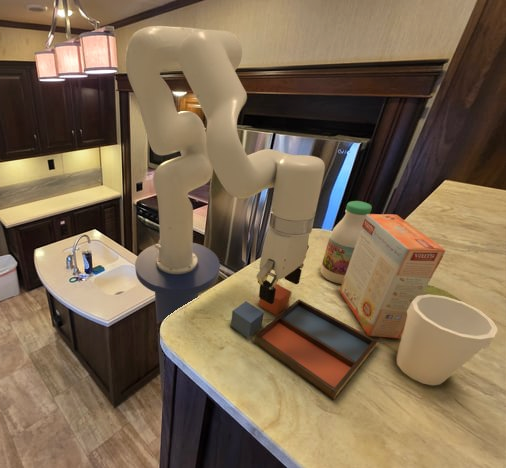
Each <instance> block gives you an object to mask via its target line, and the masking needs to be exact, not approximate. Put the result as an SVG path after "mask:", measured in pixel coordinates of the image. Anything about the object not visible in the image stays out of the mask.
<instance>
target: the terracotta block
mask: <svg viewBox="0 0 506 468" xmlns="http://www.w3.org/2000/svg"><path fill="white" fill-rule="evenodd" d="M274 288H275V289H276V292H275V298H274V303H273V304H270V303H268V302H266V301H264V300H263V299H261V298H260V297H259V302H258V306H259V307H262V308H263V309H265V310H266V311H268V312H269V313H271V314H273V315H275V316H276V317H278V316H279V315H280V314H281V313H283V312H284V311H285V310H286V309H287V308H289V303H290V298H291V294H292V291H291V290H289V289H287V288H285V287H283V286H282V285H279V284H277V283H276V285H275V287H274Z"/></svg>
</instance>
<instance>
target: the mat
mask: <svg viewBox="0 0 506 468" xmlns="http://www.w3.org/2000/svg"><path fill="white" fill-rule="evenodd" d="M427 294H430V295H438V296H445V297H448V298H452V299H455V300H458V301H461V299H460V298H459V297H457V296H456V295H453V294H452V293H450V292H448V291H446V290H444V289H442V288H439V287H436V286H434V285H430V284H428V285H427V287H426V289H425V291H424V293H423V295H427Z"/></svg>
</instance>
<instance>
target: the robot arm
mask: <svg viewBox="0 0 506 468" xmlns="http://www.w3.org/2000/svg"><path fill="white" fill-rule="evenodd" d="M241 44H242V43H241V41H240V39H239V38H238V37H237V35H236V34H234V33H233V32H231V31H229V30H223V29H221V30H220V29H203V28H196V27H195V28H194V27H185V26H184V27H183V26H182V27H181V26H166V25H165V26H164V25H152V26H146V27H143V28H140V29H138V30H137V31H135V32H134V33H133V34H132V36H131V37H130V39H129V40H128V43H127V47H126V51H125V69H126V75H127V79H128V81H129V84H130V86H131V89H132V91H133V93H134V95H135V98H136V100H137V104H138V107H139V110H140V114H141V118H142V122H143V127H144V129H145V134H146V137H147V141H148V143H149V146H150V148H151V151H152V152H153V153H154V154H155V155H158V156H168V155H171V154H175V153H178V152H180V155H181V156H177V157H174V158H171V159H169V160H165V161H163V162H162V163H160V164H159V165H158V166H157V167H156V168H155V170H154V173H153V178H152V179H153V181H152V182H153V186H154V190H155V195H156V199H157V206H158V223H159V224H158V226H159V239H158V241H157V243H155V244H156V245H155V244H154V245H155V247H156V248H157V249H159V255H158V256H157V258H156V264H157V266H158V268H159V269H160V270H162V271H164V272H166V273H170V274H184V273H188V272H190V271H192V270H193V269H195V268H196V266H197V263H198V259H197V256H196V255H195V254H194V253H193V243H194V242H193V241H194V207H193V204H192V202H191V200H190V197H189V193H190V192H192V191H194V190H196V189H199V188H200V187H202V186H205V185H206V184H207V183H209V182H210V181H211V180H212V177H213V175H214V173H215V175H216V178H217V179H218V181H219V183H220V184H221V185H222V187H223V188H224V189H225V191H226V193H228V194H229V195H230V196H232V197H234V198H237V199H242V200H243V199H248V198H249V199H250V198H253V197H254V196H256V195H258V194H260V193H262V192H263V191H264V190H269V189H272V188H273V196H272V202H271V203H272V204H271V211H270V216H269V217H270V218H269V226H268V227H269V229H268V230H267V233H266V235H265V238H264V242H263V246H262V250H261V251H262V252H261V255H260V261H259V271H258V273H257V274H256V280H257V283H258V284H259V292H258V297H259V299H260V298H261V299H263V300H264V301H266V302H268V303H270V304H273V303H274V298H275V292H276V289H275V288H274V287H275V285H276V284H277V283H278V281H279V280H282V279H284V280H285V281H288V282H290V283H292V284H294V285H298V284H300V280H301V276H302V271H303V270H302V269H303V268H304V262H305V260H306V258H307V252H308V250H309V247H310V245H309V240H310V234H312V232H313V227H314V224H315V223H314V222H315V217H316V212H317V208H318V203H319V199H320V195H321V189H322V185H323V180H324V176H325V169H326V164H325V162H324V160H323V159H321V158H320V157H318V156H314V155H306V154H290V153H287V152H284V151H280V150H277V149H273V148H272V149H270V148H265V149H261V150H258V151H255V152H252V153H250V154H247V152H246V150H245V148H244V147H243V144H242V142H241V140H240V137H239V133H238V118H239V116H240V112H241V111H242V109H243V107H244V106H245V104H246V103H247V99H248V95H247V91H246V89H245V87H244V86H243V84H242V82H241V80H240V78H239V76H238V73H237V72H236V70H237V69H238V68H239V66H240V64H241V61H242V57H243V48H242V45H241ZM173 71H181V72H182V73H183V75H184V77H185V79H186V81H187V83H188V85H189V87H190V89H191V90H192V93H193V94H194V97H195V98H196V100H197V102H198V104H199V107H200V109H201V110H202V112H203V115H204V116H205V119H206V127H205V125H204V122H203V120H202V119H201V117H200V116H199V115H198V114H196V113H195V112H193V111H190V110H184V111H178V110H177V107H176V104H175V100H174V96H173V93H172V90H171V88H170V87H169V84H167V82H166V81H165V80H164V79H163V77H162V76H161V72H173ZM159 244H160V245H159ZM271 271H274V273H273V272H271ZM268 277H272V280H271V281H269V280H268Z"/></svg>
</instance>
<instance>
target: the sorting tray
mask: <svg viewBox="0 0 506 468" xmlns="http://www.w3.org/2000/svg"><path fill="white" fill-rule="evenodd" d="M253 343H255V344H256V345H258V346H259V347H260V348H261V349H263V350H264V351H265V352H267V353H268V354H270V355H271V356H273V358H275V359H277V360H278V361H280V363H282V364H284V365H285V366H287V368H289V369H290V370H292V371H293V372H295V374H298V376H300V377H302V378H303V379H304V380H306V381H308V382H309V383H310V384H312V386H313V387H316V389H318V390H319V391H321V392H322V393H324V394H325V395H327V396H328V397H329V398H331V400H335V399H336V398H337V396H338V395H339V394H340V393H341V391H342V390H343V389H344V388H345V386H347V384H348V382H350V380H351V379H352V377H354V375H355V373H356V372H357V371H358V370H359V368H360V367H361V366H362V365H363V363H364V362H365V361H366V359H367V358H368V357H369V356H370V355H371V353H372V352H373V351H374V350H375V348H376V346H377V344H378V340H377V339H375V338H373V337H372V336H368V335H367V333H366V334H365V333H363V332H361V331H360V330H358V329H356V328H354V327H352V326H351V325H348V324H347V323H345V322H343V321H341V320H339V319H337V318H335V317H334V316H331V315H329V314H328V313H326V312H324V311H323V310H321V309H319V308H316V307H315V306H312V305H311V304H309V303H308V302H305V301H303V300H301V299H299V298H298V299H297V300H296V301H295V302H294V303H292V304H291V305H290V306H288V307H286V308H285V309H284V310H283V311H282V312H280V313H279V314H278V315H277V316H276V317H275V318H274V319H273V320H271V321H269V323H267V325H265V326H264V327H263V328H261V329H260V330H258V331H257V332H256V333H255V334H254V339H253Z"/></svg>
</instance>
